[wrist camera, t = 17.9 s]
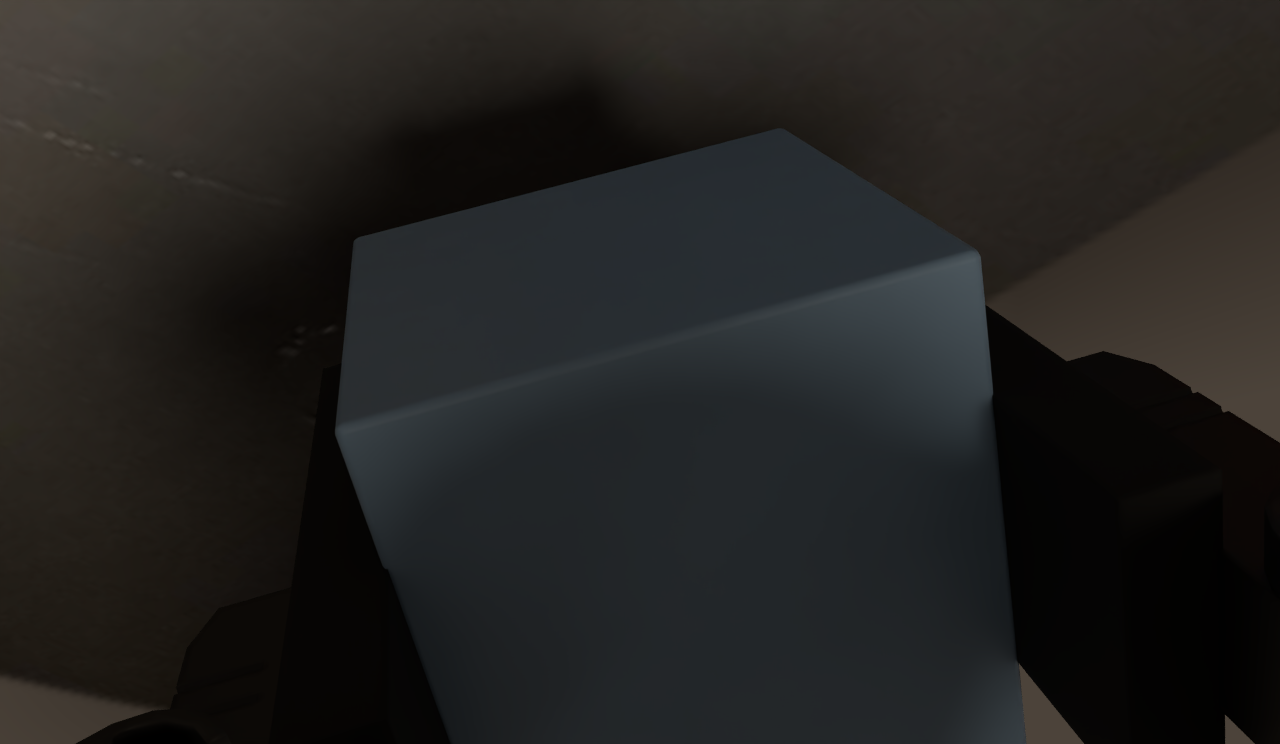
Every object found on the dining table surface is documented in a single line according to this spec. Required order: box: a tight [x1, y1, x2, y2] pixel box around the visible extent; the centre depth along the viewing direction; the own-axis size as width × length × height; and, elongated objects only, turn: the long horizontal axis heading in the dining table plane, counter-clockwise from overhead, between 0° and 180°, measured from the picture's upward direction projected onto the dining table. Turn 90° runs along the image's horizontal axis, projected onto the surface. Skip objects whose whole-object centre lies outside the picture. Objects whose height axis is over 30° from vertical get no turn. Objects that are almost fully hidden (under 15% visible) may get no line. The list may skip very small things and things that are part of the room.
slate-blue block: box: [335, 128, 1026, 744], centre depth 12 cm, size 5×5×5 cm
